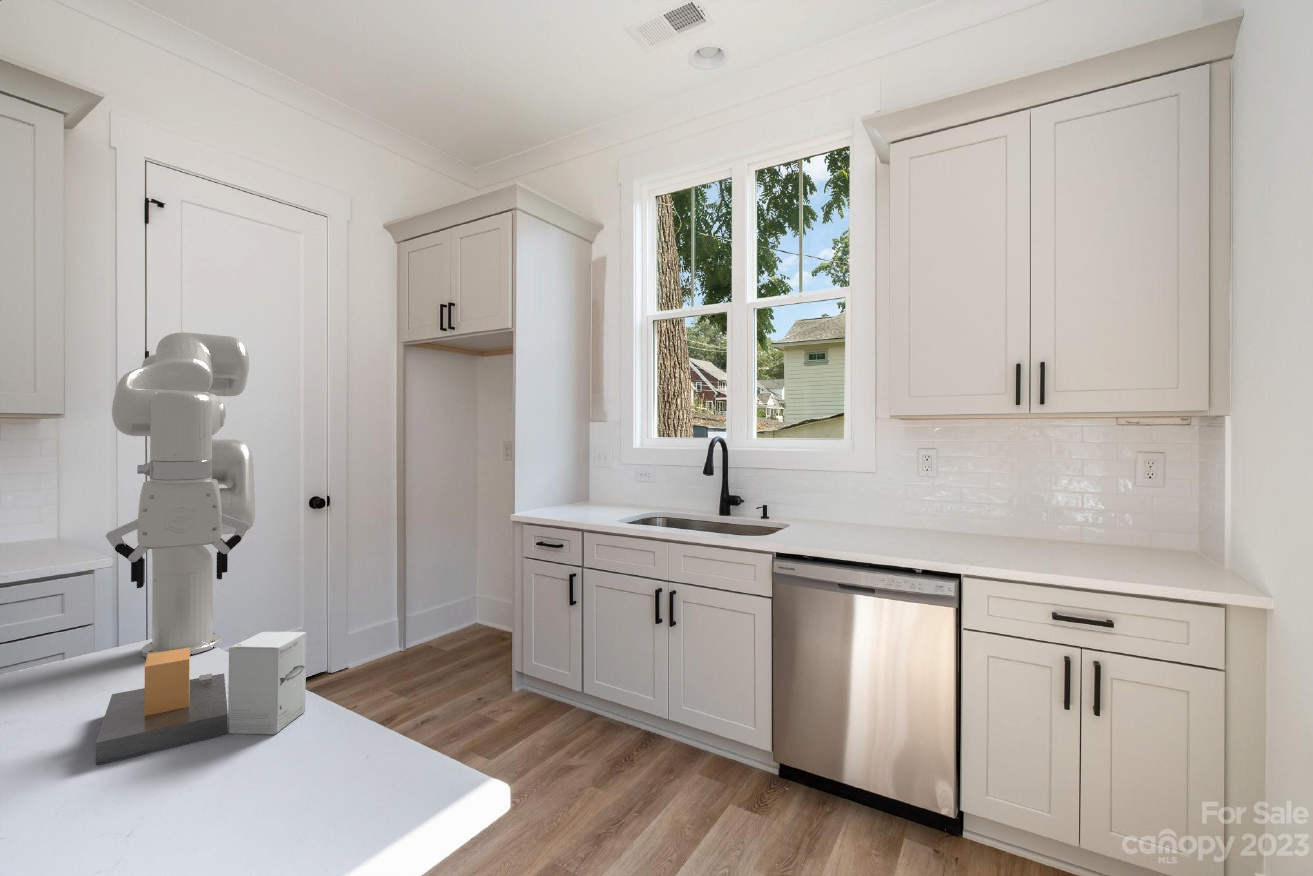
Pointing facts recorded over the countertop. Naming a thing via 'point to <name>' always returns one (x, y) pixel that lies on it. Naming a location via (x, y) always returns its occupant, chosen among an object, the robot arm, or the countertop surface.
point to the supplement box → (266, 682)
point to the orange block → (167, 681)
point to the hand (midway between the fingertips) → (181, 581)
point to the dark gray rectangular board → (162, 721)
